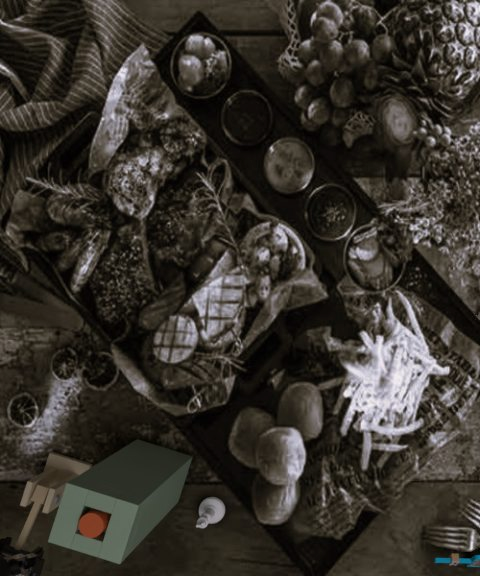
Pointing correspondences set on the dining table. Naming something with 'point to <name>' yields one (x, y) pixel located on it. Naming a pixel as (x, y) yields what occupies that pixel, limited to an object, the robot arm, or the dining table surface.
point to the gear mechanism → (459, 560)
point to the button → (93, 523)
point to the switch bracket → (54, 479)
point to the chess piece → (210, 511)
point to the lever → (28, 522)
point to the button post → (121, 499)
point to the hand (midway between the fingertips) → (23, 547)
